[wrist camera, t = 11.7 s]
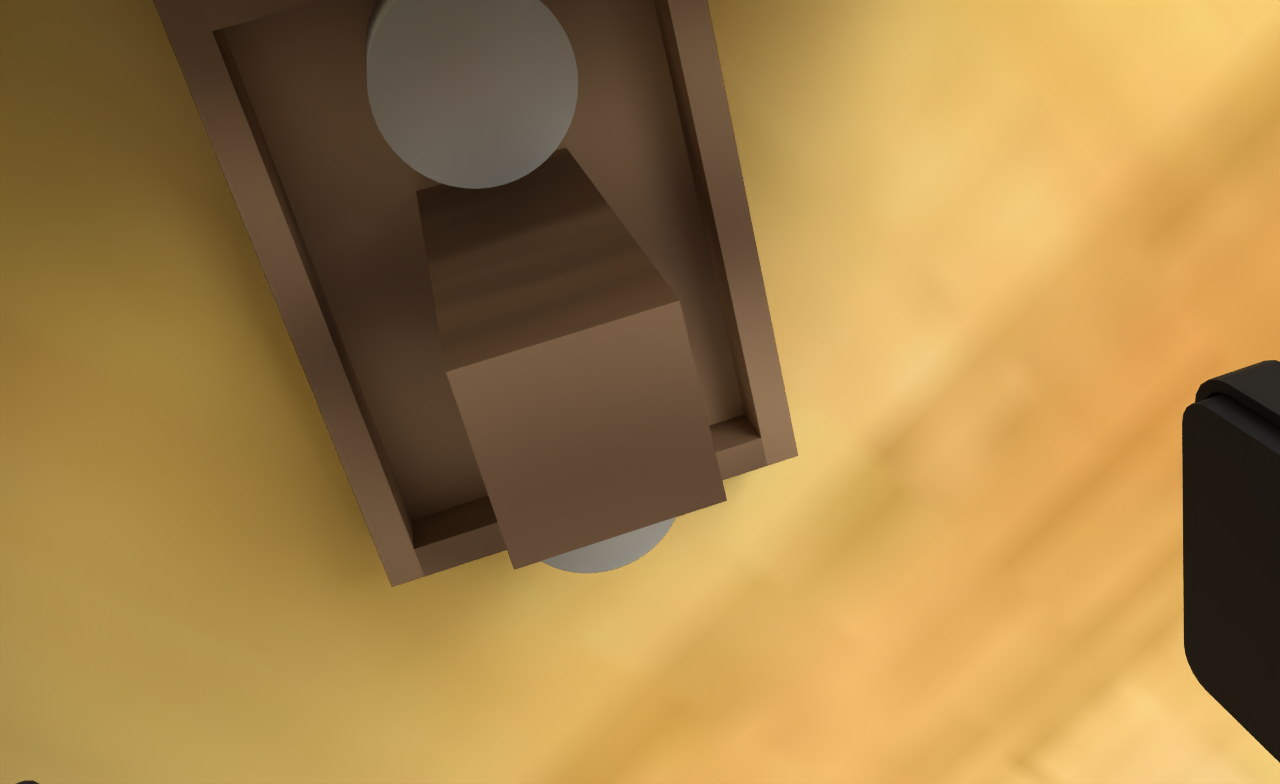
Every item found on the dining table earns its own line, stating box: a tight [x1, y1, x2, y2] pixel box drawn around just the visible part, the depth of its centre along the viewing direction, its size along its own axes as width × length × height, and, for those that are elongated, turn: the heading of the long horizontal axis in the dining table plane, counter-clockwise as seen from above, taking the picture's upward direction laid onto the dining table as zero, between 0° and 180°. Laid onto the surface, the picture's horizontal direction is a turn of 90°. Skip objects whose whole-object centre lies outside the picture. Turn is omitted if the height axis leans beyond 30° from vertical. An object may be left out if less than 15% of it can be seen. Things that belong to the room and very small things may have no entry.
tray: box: [153, 0, 798, 587], centre depth 19 cm, size 12×9×10 cm
